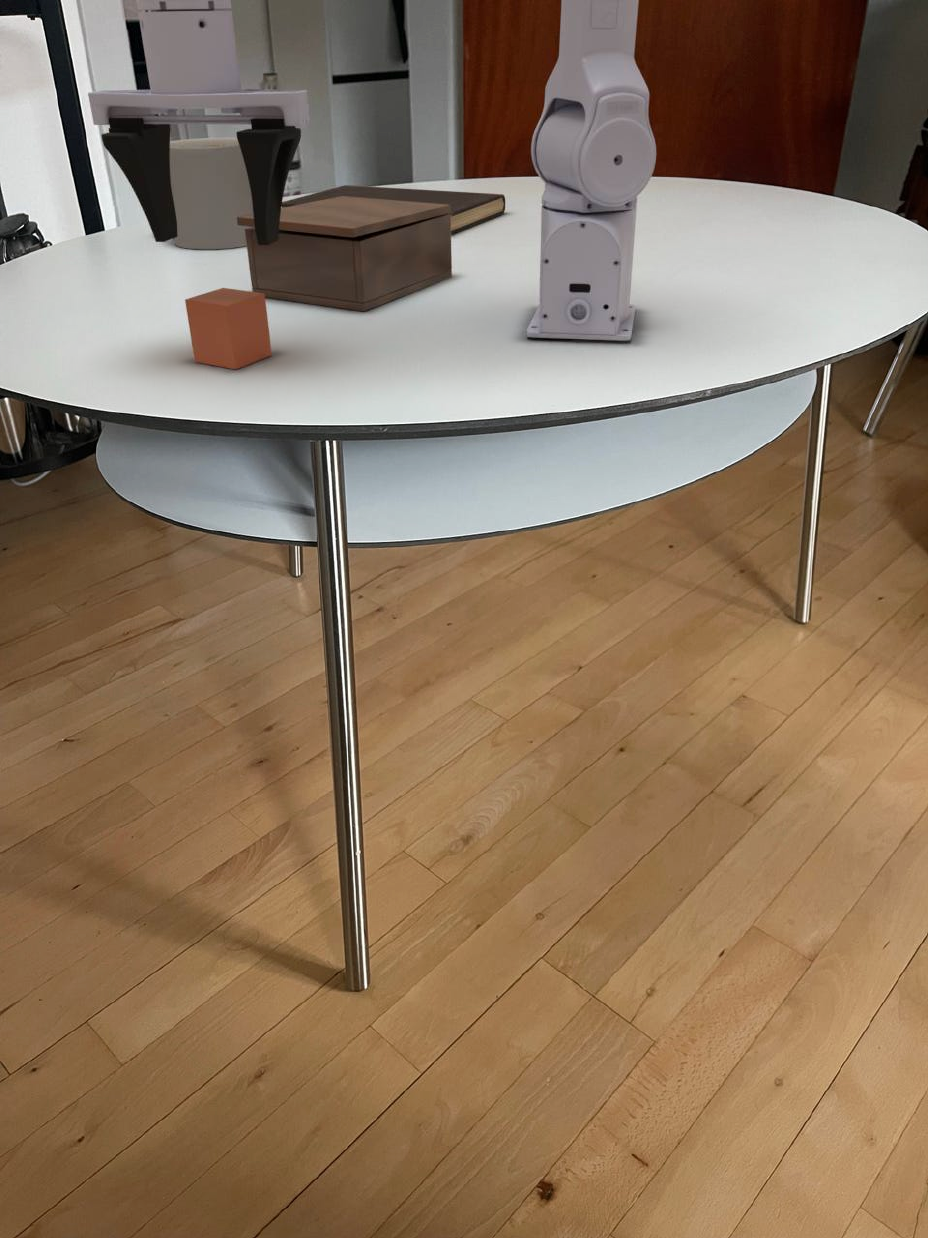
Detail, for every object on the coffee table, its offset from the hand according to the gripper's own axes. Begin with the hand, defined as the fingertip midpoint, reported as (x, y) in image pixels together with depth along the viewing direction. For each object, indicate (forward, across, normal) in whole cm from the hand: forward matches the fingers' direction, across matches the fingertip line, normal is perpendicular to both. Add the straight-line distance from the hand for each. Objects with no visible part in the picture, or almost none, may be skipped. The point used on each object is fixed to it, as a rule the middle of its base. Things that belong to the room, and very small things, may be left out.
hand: (217, 240), depth 69 cm
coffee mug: (+8, +22, -42) cm, 48 cm away
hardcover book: (+8, +4, -58) cm, 59 cm away
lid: (+2, -2, -23) cm, 23 cm away
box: (+8, -2, -23) cm, 25 cm away
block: (+8, 0, 0) cm, 8 cm away
